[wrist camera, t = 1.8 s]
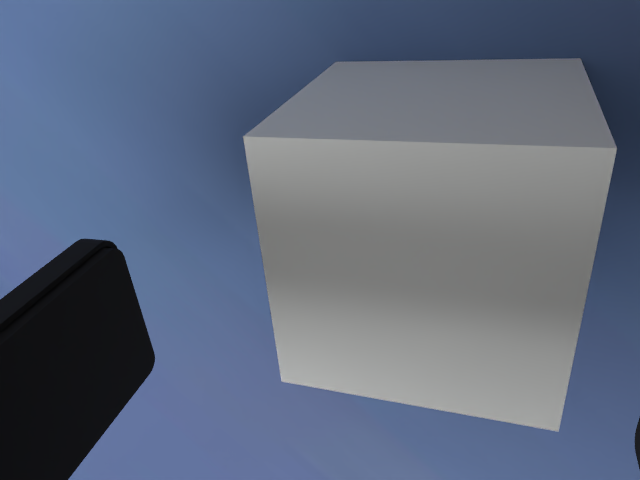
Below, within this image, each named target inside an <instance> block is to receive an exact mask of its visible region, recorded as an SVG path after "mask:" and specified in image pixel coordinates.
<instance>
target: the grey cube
mask: <svg viewBox="0 0 640 480" xmlns="http://www.w3.org/2000/svg"><path fill="white" fill-rule="evenodd" d="M243 139H244V145H245V152H246V158H247V164H248V171H249V177H250V183H251V190H252V196H253V202H254V209H255V215H256V221H257V228H258V234H259V240H260V247H261V253H262V260H263V266H264V272H265V279H266V285H267V291H268V298H269V304H270V310H271V317H272V323H273V329H274V336H275V342H276V348H277V355H278V361H279V367H280V374H281V380H282V382H287V383H292V384H298V385H303V386H309V387H315V388H320V389H326V390H331V391H337V392H342V393H348V394H353V395H359V396H364V397H370V398H376V399H381V400H387V401H392V402H398V403H403V404H409V405H414V406H420V407H425V408H431V409H437V410H442V411H448V412H453V413H459V414H464V415H470V416H475V417H481V418H486V419H492V420H498V421H503V422H509V423H514V424H520V425H525V426H531V427H536V428H542V429H547V430H553V431H559V427H560V422H561V417H562V412H563V407H564V403H565V398H566V393H567V388H568V383H569V378H570V373H571V369H572V364H573V359H574V354H575V349H576V344H577V340H578V335H579V330H580V325H581V320H582V315H583V311H584V306H585V301H586V296H587V291H588V286H589V282H590V277H591V272H592V267H593V262H594V257H595V253H596V248H597V243H598V238H599V233H600V228H601V224H602V219H603V214H604V209H605V204H606V199H607V195H608V190H609V185H610V180H611V175H612V170H613V166H614V161H615V156H616V151H617V147H616V144H615V142H614V140H613V137H612V135H611V132H610V130H609V127H608V125H607V122H606V120H605V117H604V115H603V112H602V110H601V108H600V105H599V103H598V100H597V98H596V95H595V93H594V90H593V88H592V85H591V83H590V81H589V78H588V76H587V73H586V71H585V68H584V66H583V63H582V61H581V58H568V59H499V60H429V61H359V62H335V63H334V64H333V65H331V66H330V67H329V68H328V69H326V70H325V71H324V72H323V73H321V74H320V75H319V76H318V77H316V78H315V79H314V80H313V81H311V82H310V83H309V84H308V85H307V86H305V87H304V88H303V89H302V90H300V91H299V92H298V93H297V94H295V95H294V96H293V97H292V98H290V99H289V100H288V101H287V102H285V103H284V104H283V105H282V106H280V107H279V108H278V109H277V110H275V111H274V112H273V113H272V114H270V115H269V116H268V117H267V118H266V119H264V120H263V121H262V122H261V123H259V124H258V125H257V126H256V127H254V128H253V129H252V130H251V131H249V132H248V133H247V134H246V135H244V136H243Z"/></svg>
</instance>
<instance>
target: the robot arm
mask: <svg viewBox="0 0 640 480" xmlns="http://www.w3.org/2000/svg"><path fill="white" fill-rule="evenodd" d="M154 362H155V355H154V351H153V348H152V345H151V341H150V338H149V335H148V332H147V328H146V325H145V322H144V319H143V315H142V312H141V309H140V306H139V303H138V299H137V296H136V293H135V290H134V286H133V283H132V280H131V277H130V274H129V270H128V267H127V264H126V261H125V257H124V255H123V253H122V252H121V251H120V250H118V249H117V246H116V245H115V244H114V243H113V242H110V241H106V240H95V239H80V240H78V241H76V242H75V243H74V244H72V245H71V246H70V247H68V248H67V249H66V250H65V251H63V252H62V253H61V254H59V255H58V256H57V257H55V258H54V259H53V260H51V261H50V262H49V263H48V264H46V265H45V266H44V267H42V268H41V269H40V270H38V271H37V272H36V273H34V274H33V275H32V276H31V277H29V278H28V279H27V280H25V281H24V282H23V283H21V284H20V285H19V286H17V287H16V288H15V289H14V290H12V291H11V292H10V293H8V294H7V295H6V296H4V297H3V298H2V299H0V480H68V479H69V478H70V476H71V475H72V474H73V472H74V471H75V470H76V469H77V467H78V466H79V465H80V463H81V462H82V461H83V460H84V458H85V457H86V456H87V454H88V453H89V452H90V450H91V449H92V448H93V447H94V445H95V444H96V443H97V441H98V440H99V439H100V438H101V436H102V435H103V434H104V432H105V431H106V430H107V428H108V427H109V426H110V425H111V423H112V422H113V421H114V419H115V418H116V417H117V416H118V414H119V413H120V412H121V410H122V409H123V408H124V406H125V405H126V404H127V403H128V401H129V400H130V399H131V397H132V396H133V395H134V393H135V392H136V391H137V390H138V388H139V387H140V386H141V384H142V383H143V382H144V381H145V379H146V378H147V377H148V375H149V374H150V373H151V371H152V369H153V366H154ZM635 451H636V456H637V460H638V464H639V469H640V418H639V422H638V425H637V428H636V433H635Z"/></svg>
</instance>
